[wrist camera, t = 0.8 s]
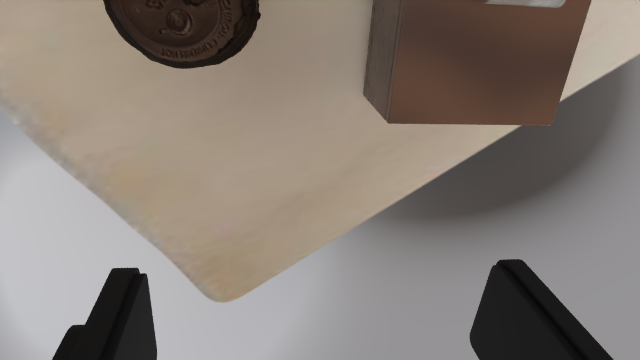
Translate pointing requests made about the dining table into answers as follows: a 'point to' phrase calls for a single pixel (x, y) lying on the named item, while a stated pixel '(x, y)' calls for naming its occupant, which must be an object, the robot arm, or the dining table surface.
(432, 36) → the bread bin lid
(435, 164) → the dining table surface
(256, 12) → the coffee cup
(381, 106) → the bin
